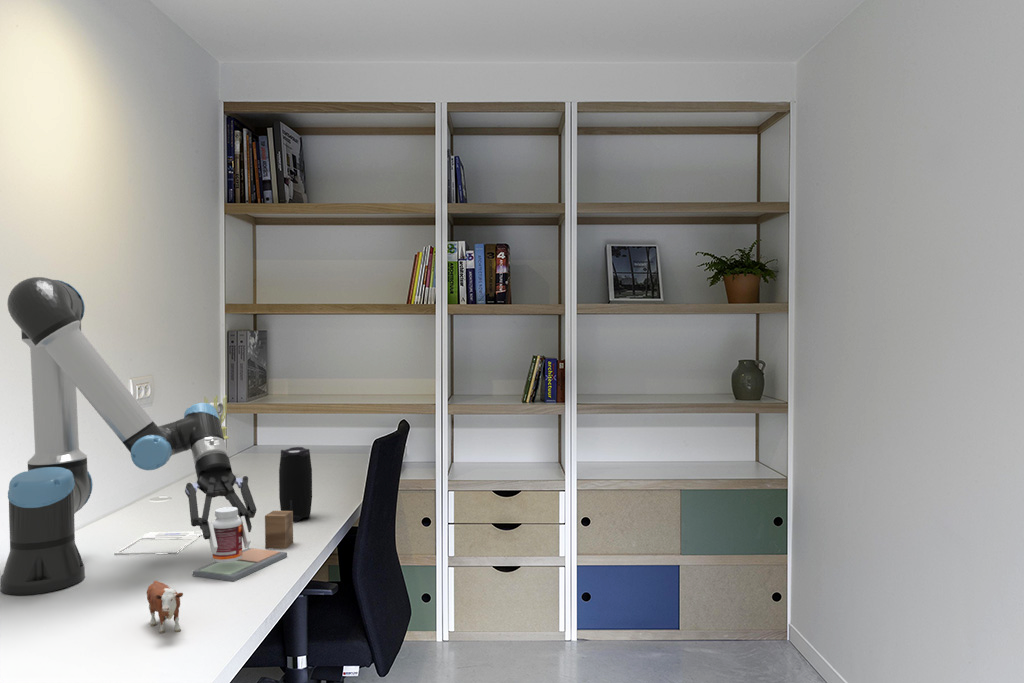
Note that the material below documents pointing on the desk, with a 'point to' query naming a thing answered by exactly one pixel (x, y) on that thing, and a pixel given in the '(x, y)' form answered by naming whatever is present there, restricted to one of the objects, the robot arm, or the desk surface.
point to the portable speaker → (295, 482)
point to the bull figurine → (163, 604)
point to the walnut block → (279, 529)
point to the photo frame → (157, 535)
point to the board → (240, 565)
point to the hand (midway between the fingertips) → (231, 547)
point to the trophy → (220, 411)
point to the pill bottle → (227, 535)
